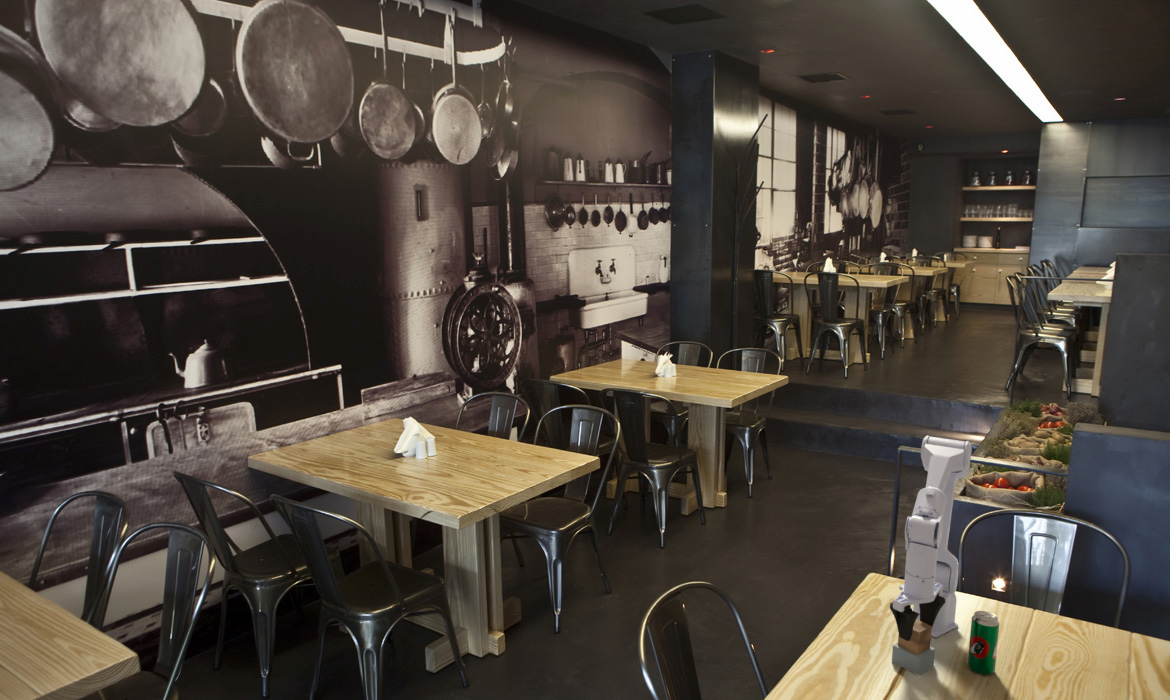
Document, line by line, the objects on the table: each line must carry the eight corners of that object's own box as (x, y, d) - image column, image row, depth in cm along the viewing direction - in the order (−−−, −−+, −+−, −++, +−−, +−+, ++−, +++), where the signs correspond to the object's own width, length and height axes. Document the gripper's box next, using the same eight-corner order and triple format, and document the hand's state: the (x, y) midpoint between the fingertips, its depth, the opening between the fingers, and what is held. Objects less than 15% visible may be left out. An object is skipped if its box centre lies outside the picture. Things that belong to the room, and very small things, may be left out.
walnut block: (910, 638, 159) (912, 617, 158) (929, 648, 156) (931, 626, 155) (897, 644, 157) (899, 623, 156) (917, 655, 153) (919, 632, 152)
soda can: (998, 677, 152) (1003, 623, 150) (971, 674, 153) (976, 620, 151) (990, 663, 157) (995, 611, 155) (964, 661, 158) (969, 608, 156)
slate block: (906, 653, 161) (908, 636, 160) (933, 666, 156) (935, 648, 156) (891, 662, 157) (892, 645, 157) (918, 676, 153) (920, 658, 152)
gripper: (922, 557, 161) (918, 615, 163) (881, 573, 153) (877, 634, 155) (954, 569, 155) (948, 629, 157) (912, 587, 147) (908, 650, 149)
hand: (915, 633), depth 156 cm, fingers open, 7 cm apart
